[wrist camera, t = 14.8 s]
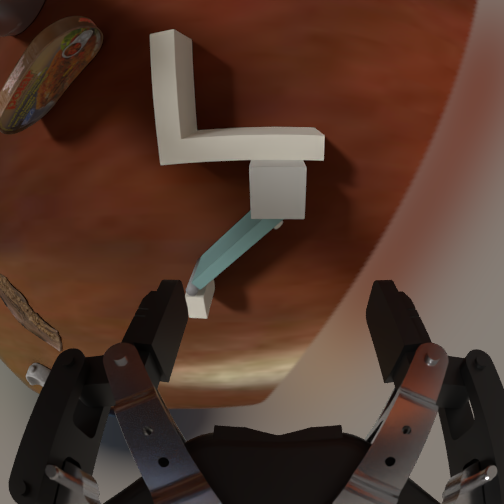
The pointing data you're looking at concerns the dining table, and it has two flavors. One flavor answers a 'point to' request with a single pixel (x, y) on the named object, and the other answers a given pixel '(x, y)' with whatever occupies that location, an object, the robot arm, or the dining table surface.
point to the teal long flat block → (229, 250)
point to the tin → (47, 71)
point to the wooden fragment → (27, 314)
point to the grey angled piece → (210, 130)
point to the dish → (37, 374)
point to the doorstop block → (277, 189)
